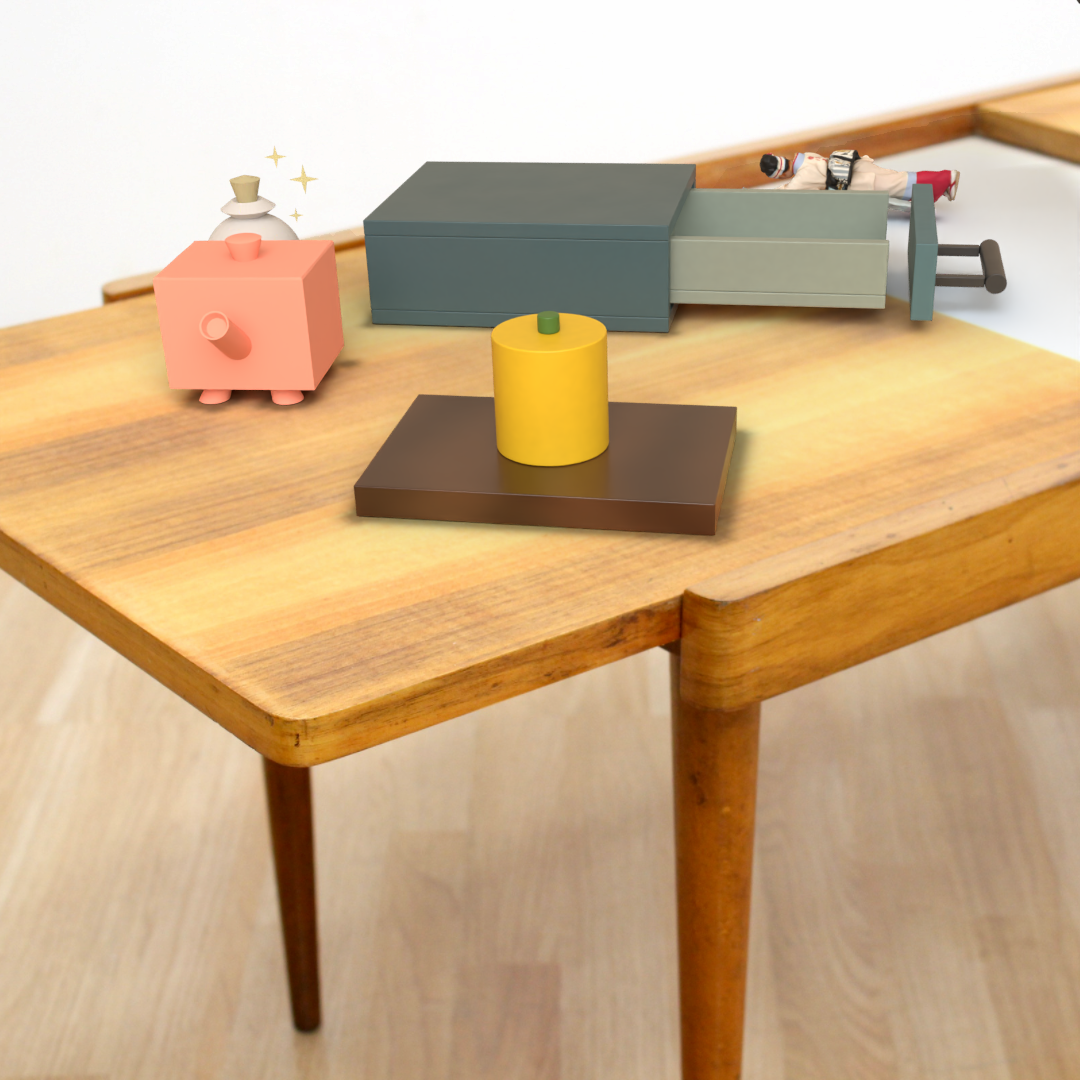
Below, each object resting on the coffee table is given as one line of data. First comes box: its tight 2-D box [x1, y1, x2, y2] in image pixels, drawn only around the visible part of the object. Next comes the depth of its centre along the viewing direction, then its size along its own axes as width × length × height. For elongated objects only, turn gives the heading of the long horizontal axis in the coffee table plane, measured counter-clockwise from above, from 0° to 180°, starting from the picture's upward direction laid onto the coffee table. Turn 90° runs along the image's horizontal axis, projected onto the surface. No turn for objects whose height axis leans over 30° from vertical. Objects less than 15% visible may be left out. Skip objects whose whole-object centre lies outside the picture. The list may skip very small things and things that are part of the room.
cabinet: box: [362, 160, 697, 333], centre depth 96 cm, size 18×14×6 cm
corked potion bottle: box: [207, 145, 318, 241], centre depth 94 cm, size 6×7×10 cm
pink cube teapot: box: [152, 233, 345, 406], centre depth 82 cm, size 8×12×8 cm, turn 173°
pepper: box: [490, 311, 609, 466], centre depth 70 cm, size 5×5×6 cm
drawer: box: [670, 184, 1008, 322], centre depth 92 cm, size 21×13×4 cm, turn 79°
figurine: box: [742, 149, 961, 213], centre depth 110 cm, size 6×8×15 cm
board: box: [353, 393, 738, 536], centre depth 72 cm, size 16×11×2 cm
